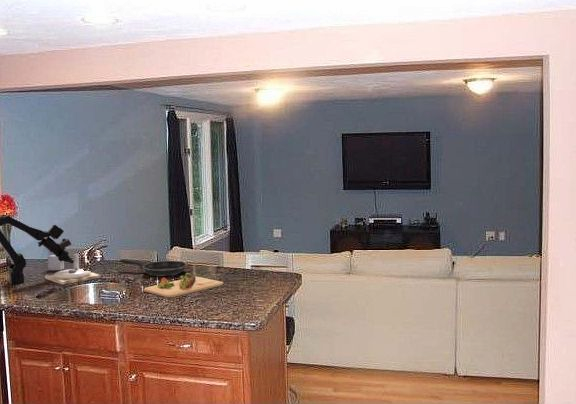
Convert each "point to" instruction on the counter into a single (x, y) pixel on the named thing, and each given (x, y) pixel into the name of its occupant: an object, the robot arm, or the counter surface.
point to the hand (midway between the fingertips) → (73, 262)
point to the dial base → (66, 281)
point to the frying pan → (159, 267)
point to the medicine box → (55, 263)
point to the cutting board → (182, 286)
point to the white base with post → (72, 271)
